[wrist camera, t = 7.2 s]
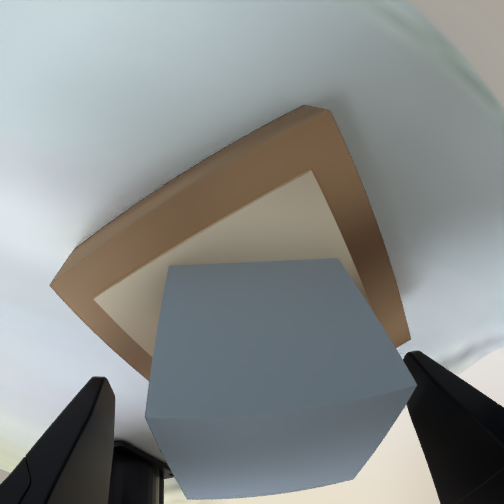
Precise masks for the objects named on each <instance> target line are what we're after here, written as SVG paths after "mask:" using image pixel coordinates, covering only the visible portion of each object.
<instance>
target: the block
mask: <svg viewBox="0 0 504 504" xmlns="http://www.w3.org/2000/svg"><path fill="white" fill-rule="evenodd" d="M416 386H417V384H416V382H415V380H414V378H413V377H412V375H411V373H410V372H409V370H408V368H407V366H406V365H405V363H404V361H403V360H402V358H401V356H400V355H399V353H398V351H397V350H396V348H395V346H394V345H393V343H392V341H391V340H390V338H389V336H388V335H387V333H386V332H385V330H384V328H383V327H382V325H381V323H380V322H379V320H378V319H377V317H376V315H375V314H374V312H373V311H372V309H371V308H370V306H369V304H368V303H367V301H366V300H365V298H364V297H363V295H362V294H361V292H360V291H359V289H358V287H357V286H356V284H355V283H354V281H353V280H352V278H351V277H350V275H349V274H348V272H347V271H346V269H345V268H344V266H343V265H342V263H341V262H340V260H339V259H338V258H328V259H308V260H287V261H266V262H243V263H220V264H196V265H171V266H169V268H168V272H167V278H166V283H165V288H164V293H163V299H162V304H161V310H160V315H159V321H158V327H157V333H156V339H155V346H154V352H153V359H152V366H151V373H150V380H149V388H148V396H147V404H146V412H145V419H146V421H147V423H148V425H149V427H150V430H151V432H152V434H153V436H154V438H155V440H156V442H157V444H158V446H159V448H160V450H161V452H162V454H163V456H164V458H165V460H166V462H167V464H168V466H169V468H170V470H171V471H172V473H173V475H174V477H175V479H176V481H177V482H178V484H179V486H180V488H181V489H182V491H183V493H184V495H185V496H186V498H187V499H192V500H198V499H230V498H244V497H255V496H266V495H274V494H281V493H288V492H294V491H300V490H306V489H312V488H317V487H322V486H327V485H331V484H336V483H339V482H344V481H348V480H352V479H354V478H355V476H356V475H357V474H358V473H359V471H360V470H361V469H362V467H363V466H364V465H365V464H366V462H367V461H368V460H369V458H370V457H371V456H372V454H373V453H374V451H375V450H376V448H377V447H378V446H379V444H380V443H381V442H382V440H383V439H384V437H385V436H386V434H387V433H388V431H389V430H390V428H391V427H392V425H393V424H394V422H395V421H396V419H397V418H398V416H399V414H400V413H401V411H402V410H403V408H404V407H405V405H406V403H407V402H408V400H409V398H410V397H411V395H412V393H413V392H414V390H415V388H416Z"/></svg>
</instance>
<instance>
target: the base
mask: <svg viewBox="0 0 504 504" xmlns="http://www.w3.org/2000/svg"><path fill="white" fill-rule="evenodd" d="M328 258H338V259H339V260H340V262H341V263H342V265H343V266H344V268H345V269H346V271H347V272H348V274H349V275H350V277H351V278H352V280H353V281H354V283H355V284H356V286H357V287H358V289H359V291H360V292H361V294H362V295H363V297H364V298H365V300H366V301H367V303H368V304H369V306H370V308H371V309H372V311H373V312H374V314H375V315H376V317H377V319H378V320H379V322H380V323H381V325H382V327H383V328H384V330H385V332H386V333H387V335H388V336H389V338H390V340H391V341H392V343H393V345H394V346H395V348H397V347H399V346H401V345H402V344H404V343H406V342H407V341H409V340H411V337H410V333H409V329H408V325H407V321H406V317H405V313H404V309H403V305H402V302H401V298H400V294H399V291H398V287H397V284H396V280H395V277H394V274H393V270H392V267H391V264H390V261H389V258H388V254H387V251H386V248H385V245H384V242H383V239H382V236H381V233H380V231H379V228H378V225H377V222H376V219H375V216H374V214H373V211H372V208H371V206H370V203H369V200H368V198H367V195H366V192H365V190H364V187H363V185H362V182H361V180H360V177H359V175H358V172H357V170H356V167H355V165H354V163H353V160H352V158H351V156H350V153H349V151H348V149H347V146H346V144H345V142H344V140H343V137H342V135H341V133H340V131H339V129H338V126H337V124H336V122H335V120H334V118H333V116H332V114H331V112H330V110H326V109H321V108H316V107H311V106H306V105H303V106H301V107H299V108H297V109H295V110H293V111H291V112H289V113H287V114H286V115H284V116H282V117H280V118H278V119H276V120H274V121H272V122H270V123H268V124H266V125H265V126H263V127H261V128H259V129H257V130H255V131H254V132H252V133H250V134H248V135H246V136H245V137H243V138H241V139H239V140H237V141H236V142H234V143H232V144H230V145H229V146H227V147H225V148H224V149H222V150H220V151H218V152H217V153H215V154H213V155H212V156H210V157H208V158H207V159H205V160H203V161H202V162H200V163H198V164H197V165H195V166H194V167H192V168H190V169H189V170H187V171H186V172H184V173H182V174H181V175H179V176H178V177H176V178H174V179H173V180H171V181H170V182H168V183H167V184H165V185H164V186H162V187H161V188H159V189H158V190H156V191H155V192H153V193H152V194H150V195H149V196H147V197H146V198H144V199H143V200H141V201H140V202H138V203H137V204H135V205H134V206H133V207H131V208H130V209H128V210H127V211H125V212H124V213H123V214H121V215H120V216H118V217H117V218H116V219H114V220H113V221H111V222H110V223H109V224H107V225H106V226H104V227H103V228H102V229H100V230H99V231H98V232H96V233H95V234H94V235H92V236H91V237H90V238H88V239H87V240H86V241H84V242H83V243H82V244H81V245H79V246H78V247H77V248H75V249H74V250H73V252H72V253H71V254H70V256H69V257H68V259H67V260H66V261H65V263H64V264H63V266H62V267H61V269H60V270H59V272H58V273H57V275H56V276H55V278H54V279H53V281H52V282H51V284H50V285H49V286H50V287H51V288H52V289H53V290H54V291H55V292H56V293H57V295H58V296H59V297H60V298H61V299H62V300H63V301H64V302H65V303H66V304H67V305H68V306H69V307H70V308H71V310H72V311H73V312H74V313H75V314H76V315H77V316H78V317H79V318H80V319H81V320H82V321H83V322H84V323H85V324H86V325H87V326H88V327H89V328H90V329H91V330H92V331H93V332H94V333H95V334H96V335H98V336H99V337H100V338H101V339H102V340H103V341H104V342H105V343H106V344H107V345H108V346H109V347H110V348H111V349H112V350H114V351H115V352H116V353H117V354H118V355H119V356H120V357H121V358H122V359H124V360H125V361H126V362H127V363H128V364H129V365H130V366H132V367H133V368H134V369H135V370H136V371H137V372H139V373H140V374H141V375H142V376H143V377H145V378H146V379H147V380H148V381H149V380H150V373H151V366H152V359H153V352H154V346H155V339H156V333H157V327H158V321H159V315H160V310H161V304H162V299H163V293H164V288H165V283H166V278H167V272H168V268H169V266H171V265H196V264H220V263H243V262H266V261H287V260H308V259H328Z"/></svg>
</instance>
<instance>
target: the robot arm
mask: <svg viewBox="0 0 504 504" xmlns="http://www.w3.org/2000/svg"><path fill="white" fill-rule="evenodd" d="M403 361H404V363H405V365H406V366H407V368H408V370H409V372H410V373H411V375H412V377H413V378H414V380H415V382H416V384H417V386H416V388H415V390H414V392H413V393H412V395H411V397H410V398H409V400H408V402H407V403H406V404H407V407H408V411H409V414H410V416H411V420H412V423H413V425H414V428H415V430H416V433H417V436H418V438H419V441H420V444H421V447H422V450H423V452H424V455H425V458H426V461H427V463H428V467H429V470H430V473H431V475H432V478H433V482H434V485H435V488H436V491H437V494H438V497H439V500H440V504H504V407H502V406H501V405H499V404H497V403H496V402H495V401H493V400H492V399H490V398H489V397H487V396H486V395H484V394H483V393H482V392H480V391H478V390H477V389H475V388H474V387H473V386H471V385H470V384H468V383H467V382H465V381H464V380H462V379H461V378H459V377H458V376H456V375H455V374H453V373H452V372H450V371H449V370H447V369H446V368H444V367H443V366H441V365H440V364H438V363H437V362H435V361H434V360H432V359H431V358H429V357H428V356H426V355H425V354H423V353H422V352H420V351H412V352H408V353H407V354H406V355H405V357H404V359H403ZM114 420H115V395H114V392H113V390H112V388H111V386H110V384H109V382H108V380H107V378H105V377H96V376H95V377H92V378H91V379H90V380H89V381H88V382H87V384H86V385H85V386H84V387H83V388H82V389H81V390H80V392H79V393H78V394H77V395H76V396H75V397H74V399H73V400H72V401H71V402H70V403H69V404H68V405H67V407H66V408H65V409H64V410H63V411H62V413H61V414H60V415H59V416H58V417H57V418H56V420H55V421H54V422H53V423H52V424H51V426H50V427H49V428H48V429H47V430H46V431H45V433H44V434H43V435H42V436H41V437H40V439H39V440H38V441H37V442H36V444H35V445H34V446H33V447H32V448H31V450H30V451H29V452H28V453H27V454H26V457H24V458H23V459H22V460H21V462H20V463H19V464H18V465H17V467H16V468H15V469H14V470H13V471H12V472H11V474H10V475H9V476H8V477H7V478H6V479H5V480H4V481H3V482H2V483H1V484H0V504H164V479H167V478H172V477H174V475H173V473H172V471H171V470H170V468H169V466H168V465H166V464H164V463H162V462H160V461H158V460H156V459H154V458H153V457H151V456H149V455H147V454H145V453H143V452H142V451H140V450H138V449H136V448H134V447H133V446H131V445H129V444H128V443H125V442H122V441H118V442H114Z"/></svg>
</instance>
